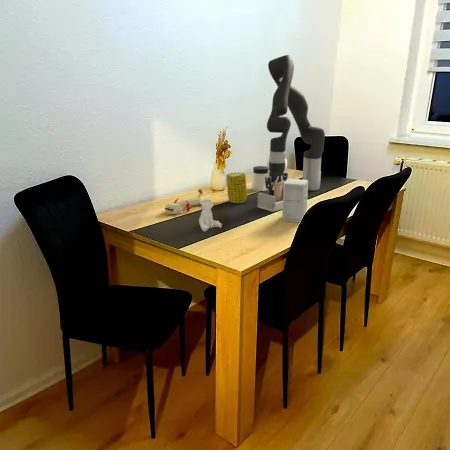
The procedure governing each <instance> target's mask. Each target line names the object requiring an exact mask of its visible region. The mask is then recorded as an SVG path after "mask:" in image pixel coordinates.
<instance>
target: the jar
mask: <svg viewBox="0 0 450 450" xmlns="http://www.w3.org/2000/svg"><path fill="white" fill-rule="evenodd" d="M252 169H253V170H252V179H251V181H252V182H251V184H252V186H251V188H252V190H254V191H256V192H257V191H258V192H265V191H268V190H269V189H266V183H265V177H268V176H269V175H270V172H269V170H268V167H267V166H266V165H265V166H263V165H260V166H259V165H256V166H253V168H252ZM268 186H269V185H268Z"/></svg>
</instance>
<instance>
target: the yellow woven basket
mask: <svg viewBox="0 0 450 450" xmlns="http://www.w3.org/2000/svg"><path fill="white" fill-rule="evenodd" d="M226 188H227V189H226V191H227V197H228V200H227V201H228V202H229V203H233V204H240V205H241V204H243V203H245V202H247V199H248V194H247V193H248V192H247V191H248V189H247V177H246V173H245V172H229V173H226Z"/></svg>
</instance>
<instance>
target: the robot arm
mask: <svg viewBox="0 0 450 450" xmlns="http://www.w3.org/2000/svg"><path fill="white" fill-rule="evenodd" d="M267 67H268V72H269V74H270V76H271V78H272V80H274V82H275V84H276V86H277V87H276V90H275V92H273V93H274V94H273V97H272V104H271V106H272V107H271V111H270V115H269V117H268V119H267V122H266V129H267V131H268V132H269V133H274V134H275V133H277V134H279V133H281V135H280V136H277V137H273V138H270V143H269V144H270V145H269V155H268V156H269V157H268V158H269V170H268V172H269V176H268V177H265V183H266V189H268V190H269V191H268V195H271V196H274V187H275V186H276V183H277V182H280V181H281V182H283V184H284V182H285V181H286V180H287V179H288V178H289V177H288V176H289V174H288V173H287V172H285V171H286V170H285V161H286V159H287V158H286V155H287V154H286V149H287V147H286V145H287V138H288V135H289V131H290V129H291V125H292V124H291V123H292V122H291V119H290V118H289V117H288V116H284V115H287V112H288V109H289V111H290V113H291V115H292V117H293V120H294V122H295V125H296V126H297V129H298V131H299V135H300V138H301V139H302V141H303V143H304V144H308V145H310V149H309V150H305V151H304V152H303V164H302V166H303V168H302V180H308V191H318V190H319V189H321V177H322V171H321V167H322V165H321V164H322V156H323V153H324V147H325V141H326V139H325V138H326V136H325V135H326V134H325V130H324V129H323V128H322V127H316V126H312V125H311V123H310V122H309V119H308V113H309V112H308V111H309V103H308V101H307V99H306V97H305V95H304V93H303V92H302V91H301V90H299V89H298V88H296V87H295V86H293V85H292V81H293V76H294V71H295V63H294V60H293V58H292V56H291V55H289V54H285V55H282V56H279V57H277V58H274V59H272V60H270V61H268V64H267ZM271 182H274V183H271ZM283 184H282V193H283ZM268 185H269V186H268ZM271 185H273V186H272V187H271Z"/></svg>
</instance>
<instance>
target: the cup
mask: <svg viewBox="0 0 450 450" xmlns="http://www.w3.org/2000/svg"><path fill="white" fill-rule="evenodd" d="M287 166H288V160H287V158H286V161H285V171H286V169H287ZM266 167H268V171H269V157H267V160H266Z"/></svg>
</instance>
